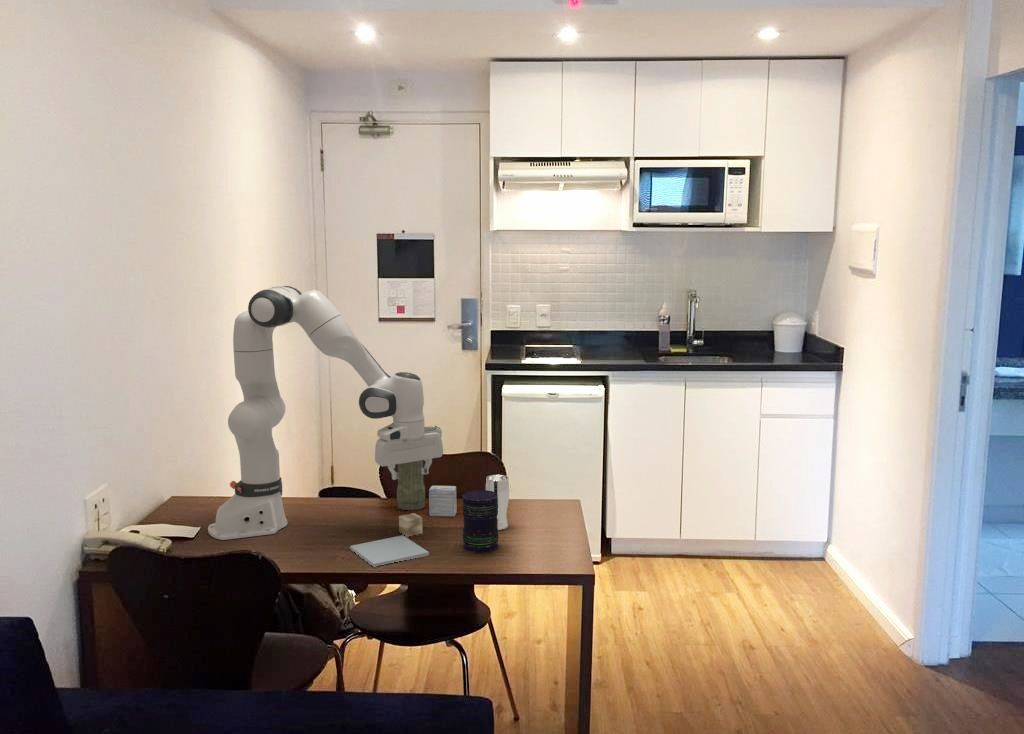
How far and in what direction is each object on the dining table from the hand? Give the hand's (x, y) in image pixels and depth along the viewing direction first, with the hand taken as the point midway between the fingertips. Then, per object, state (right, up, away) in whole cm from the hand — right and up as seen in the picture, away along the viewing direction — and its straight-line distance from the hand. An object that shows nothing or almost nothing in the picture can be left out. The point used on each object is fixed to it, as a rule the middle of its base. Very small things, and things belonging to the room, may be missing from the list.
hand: (410, 476), depth 253 cm
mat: (-4, -19, -13) cm, 24 cm away
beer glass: (+25, -16, +8) cm, 31 cm away
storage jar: (+20, -19, -9) cm, 29 cm away
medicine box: (+8, -14, +19) cm, 25 cm away
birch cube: (0, -17, +3) cm, 17 cm away
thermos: (-3, -13, +27) cm, 30 cm away
